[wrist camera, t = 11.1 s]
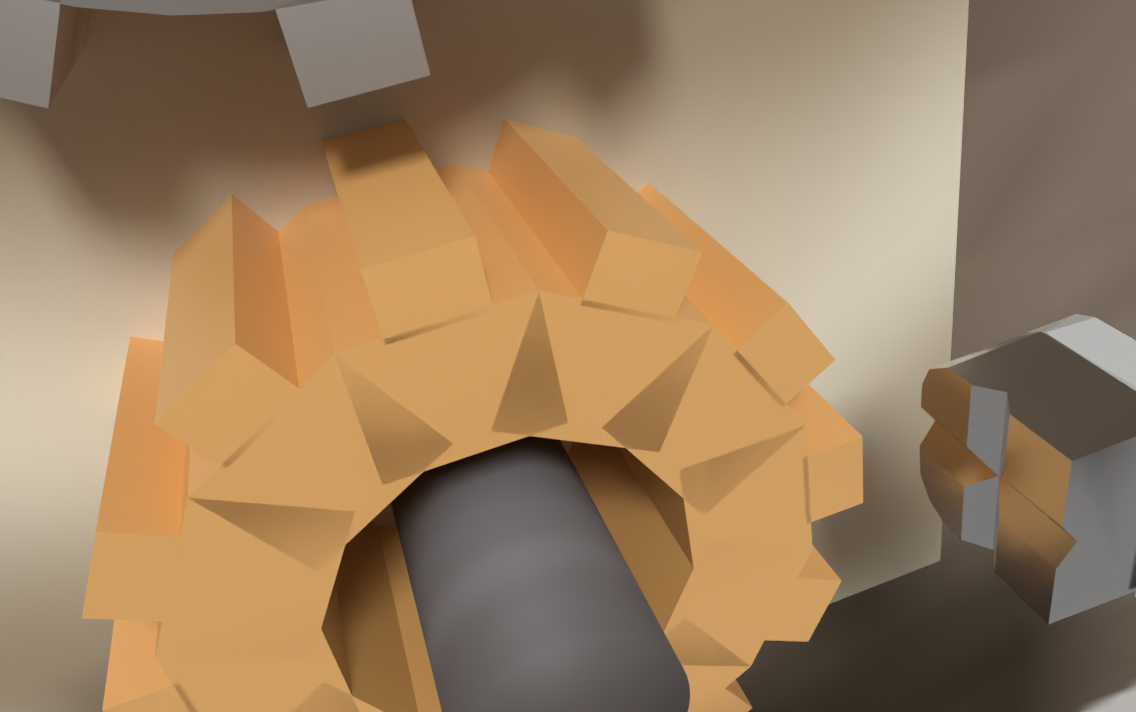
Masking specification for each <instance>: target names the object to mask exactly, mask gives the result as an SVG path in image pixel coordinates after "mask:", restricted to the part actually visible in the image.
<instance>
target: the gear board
mask: <svg viewBox="0 0 1136 712" xmlns="http://www.w3.org/2000/svg"><path fill="white" fill-rule="evenodd" d="M968 7H969V0H0V712H103V711H102V708H103V701H104V693H105V686H106V678H107V671H108V663H109V656H110V648H111V641H112V633H113V626H114V620H111V619H82V613H83V607H84V601H85V594H86V588H87V582H88V576H89V570H90V564H91V557H92V551H93V545H94V539H95V533H96V527H97V521H98V516H99V510H100V504H101V499H102V493H103V487H104V482H105V476H106V470H107V465H108V459H109V453H110V448H111V442H112V436H113V431H114V425H115V419H116V414H117V408H118V402H119V397H120V391H121V385H122V380H123V374H124V368H125V363H126V357H127V352H128V346H129V340H130V336H132V337H139V338H146V339H153V340H160V341H164V333H165V324H166V315H167V306H168V297H169V288H170V279H171V270H172V261H173V253H174V252H175V251H176V250H177V249H178V248H179V247H180V246H181V245H182V244H183V243H184V242H185V241H186V240H187V239H188V238H189V237H190V236H191V235H192V234H193V233H194V232H195V231H196V230H197V229H198V228H199V227H200V226H201V225H202V224H203V223H204V222H205V221H206V220H207V219H208V218H209V216H210V215H211V214H212V213H213V212H214V211H215V210H216V209H217V208H218V207H219V206H220V205H221V204H222V203H223V202H224V201H225V200H226V199H227V198H228V197H229V196H230V195H231V194H232V195H234V196H235V197H236V198H237V199H239V200H240V201H241V202H242V203H244V204H245V205H246V206H247V207H249V208H250V209H251V210H252V211H254V212H255V213H256V214H257V215H258V216H260V217H261V218H262V219H263V220H265V221H266V222H267V223H268V224H270V225H271V226H272V227H273V228H275V229H276V230H277V231H279V230H280V229H281V228H282V227H283V226H284V225H285V224H286V223H287V222H288V221H289V220H290V219H291V218H292V217H293V216H294V215H295V214H296V213H297V212H298V211H299V210H300V209H301V208H302V207H303V206H306V205H309V204H313V203H316V202H320V201H323V200H327V199H330V198H334V197H337V196H338V194H337V191H336V187H335V184H334V181H333V177H332V174H331V171H330V167H329V164H328V161H327V157H326V154H325V151H324V148H323V144H322V141H325V140H329V139H333V138H336V137H340V136H344V135H347V134H351V133H355V132H358V131H362V130H366V129H369V128H373V127H377V126H380V125H384V124H388V123H391V122H395V121H399V120H402V119H405V120H406V121H407V123H408V125H409V126H410V128H411V130H412V131H413V133H414V135H415V136H416V138H417V140H418V141H419V143H420V145H421V146H422V148H423V150H424V151H425V153H426V155H427V156H428V158H429V160H430V161H431V163H432V165H433V166H434V168H435V169H436V168H440V167H443V166H447V165H450V164H454V163H455V164H459V165H463V166H467V167H471V168H475V169H479V170H483V171H488V170H489V166H490V163H491V160H492V156H493V153H494V150H495V147H496V143H497V140H498V137H499V133H500V130H501V127H502V124H503V120H504V118H505V119H509V120H512V121H516V122H520V123H523V124H527V125H531V126H534V127H538V128H542V129H545V130H549V131H553V132H556V133H560V134H564V135H567V136H571V137H575V138H578V139H579V140H580V141H581V142H582V143H583V144H584V145H586V146H587V147H588V148H589V149H590V150H591V151H592V152H593V153H594V154H595V155H596V156H598V157H599V158H600V159H601V160H602V161H603V162H604V163H605V164H606V165H607V166H609V167H610V168H611V169H612V170H613V171H614V172H615V173H616V174H617V175H618V176H619V177H621V178H622V179H623V180H624V181H625V182H626V183H627V184H628V185H629V186H630V187H631V188H633V189H634V190H635V191H636V192H637V193H638V192H639V191H640V190H641V189H642V188H643V187H644V186H645V185H646V184H647V183H648V182H649V183H650V184H651V185H652V186H654V187H655V188H656V189H657V190H658V191H659V192H661V193H662V194H663V195H664V196H665V197H666V198H667V199H669V200H670V201H671V202H672V203H673V204H674V205H676V206H677V207H678V208H679V209H680V210H681V211H682V212H684V213H685V214H686V215H687V216H688V217H689V218H691V219H692V220H693V221H694V222H695V223H696V224H698V225H699V226H700V227H701V228H702V229H703V230H704V231H706V232H707V233H708V234H709V235H710V236H711V237H713V238H714V239H715V240H716V241H717V242H718V243H720V244H721V245H722V246H723V247H724V248H725V249H726V250H728V251H729V252H730V253H731V254H732V255H733V256H735V257H736V258H737V259H738V260H739V261H740V262H741V263H743V264H744V265H745V266H746V267H747V268H748V269H750V270H751V271H752V272H753V273H754V274H755V275H757V276H758V277H759V278H760V279H761V280H762V281H763V282H765V283H766V284H767V285H768V286H769V287H770V288H772V289H773V290H774V291H775V292H776V293H777V294H778V295H780V296H781V297H782V298H783V299H784V300H785V301H787V302H788V303H789V304H790V305H791V307H792V308H793V309H794V310H795V312H796V313H797V314H798V315H799V316H800V318H801V319H802V320H803V321H804V322H805V324H806V325H807V326H808V327H809V328H810V330H811V331H812V332H813V333H814V334H815V336H816V337H817V338H818V339H819V340H820V342H821V343H822V344H823V345H824V347H825V348H826V349H827V350H828V351H829V353H830V354H831V355H832V356H833V357H834V359H835V361H834V362H833V363H831V364H830V365H829V366H828V367H827V368H826V369H825V370H824V371H822V372H821V373H820V374H819V375H818V376H817V377H816V378H815V379H813V380H812V381H811V382H810V383H809V385H810V386H811V387H812V388H813V389H814V390H815V391H816V392H817V393H818V394H819V395H820V396H821V397H822V398H823V399H824V400H825V401H827V402H828V403H829V404H830V405H831V406H832V407H833V408H834V409H835V410H836V411H837V412H838V413H839V414H840V415H841V416H842V417H843V418H844V419H845V420H846V421H847V422H848V423H849V424H850V425H851V426H852V427H853V428H854V429H855V430H856V431H857V432H858V433H859V434H860V435H861V436H862V437H863V503H861V504H859V505H856V506H853V507H851V508H848V509H845V510H843V511H840V512H837V513H835V514H832V515H829V516H827V517H824V518H821V519H819V520H816V521H813V522H811V532H812V545H813V546H814V547H815V549H816V550H817V551H818V552H819V553H820V555H821V556H822V557H823V558H824V560H825V561H826V562H827V563H828V565H829V566H830V567H831V568H832V570H833V571H834V572H835V573H836V575H837V576H838V577H839V578H840V579H841V583H840V585H839V586H838V588H837V590H836V592H835V594H834V596H833V597H832V599H831V601H830V603H829V604H831V603H833V602H836V601H838V600H841V599H843V598H846V597H848V596H851V595H854V594H856V593H859V592H861V591H864V590H866V589H869V588H871V587H874V586H877V585H879V584H882V583H884V582H887V581H889V580H892V579H894V578H897V577H900V576H902V575H905V574H907V573H910V572H912V571H915V570H917V569H920V568H923V567H925V566H928V565H930V564H933V563H935V562H938V561H940V556H941V536H942V519H941V517H940V516H939V514H938V513H937V511H936V510H935V508H934V507H933V505H932V504H931V502H930V500H929V497H928V495H927V492H926V489H925V486H924V484H923V481H922V478H921V475H920V444H921V443H922V441H923V439H924V438H925V436H926V434H927V433H928V431H929V430H930V428H931V426H932V425H933V423H934V421H935V420H934V419H933V418H932V417H931V416H930V415H929V414H927V413H926V412H925V411H924V410H923V409H922V408H921V394H922V383H923V381H924V379H925V377H926V375H927V373H928V371H929V369H931V368H933V367H936V366H939V365H942V364H944V363H947V362H950V360H951V340H952V321H953V301H954V281H955V262H956V242H957V223H958V203H959V183H960V164H961V144H962V124H963V105H964V85H965V66H966V46H967V26H968ZM572 443H573V441H566V440H558V439H550V438H542V437H534V436H528V437H525V438H522V439H519V440H516V441H513V442H510V443H507V444H504V445H501V446H498V447H495V448H492V449H489V450H486V451H483V452H480V453H477V454H474V455H471V456H468V457H465V458H463V459H460V460H457V461H454V462H451V463H448V464H445V465H442V466H439V467H436V468H433V469H430V470H427V471H424V472H423V473H422V474H420V475H419V476H418V477H417V478H416V479H415V480H414V481H413V482H412V483H411V484H410V485H409V486H408V487H407V488H406V489H404V490H403V491H402V492H401V493H400V494H399V495H398V496H397V497H396V498H395V499H394V500H393V501H392V502H391V503H390V504H388V505H387V506H386V507H385V508H384V509H383V510H382V511H381V512H380V513H379V514H378V515H377V516H376V517H375V518H374V519H372V520H371V522H373V523H374V524H376V525H378V526H389V527H397V530H398V534H399V538H400V542H401V546H402V550H403V554H404V558H405V563H406V567H407V571H408V575H409V579H410V583H411V587H412V591H413V595H414V599H415V603H416V608H417V612H418V616H419V620H420V624H421V628H422V632H423V636H424V640H425V644H426V648H427V653H428V657H429V661H430V665H431V669H432V673H433V677H434V681H435V685H436V689H437V693H438V698H439V702H440V706H441V710H442V712H688V708H689V702H690V685H689V681H688V678H687V675H686V673H685V671H684V669H683V667H682V665H681V663H680V661H679V659H678V657H677V656H676V654H675V652H674V650H673V648H672V646H671V644H670V643H669V641H668V639H667V637H666V635H665V633H664V631H663V630H662V628H661V626H660V624H659V622H658V620H657V618H656V617H655V615H654V613H653V611H652V609H651V607H650V605H649V604H648V602H647V600H646V598H645V596H644V594H643V592H642V591H641V589H640V587H639V585H638V583H637V581H636V580H635V578H634V576H633V574H632V572H631V570H630V568H629V567H628V565H627V563H626V561H625V559H624V557H623V555H622V554H621V552H620V550H619V548H618V546H617V544H616V542H615V541H614V539H613V537H612V535H611V533H610V531H609V529H608V528H607V526H606V524H605V522H604V520H603V518H602V516H601V515H600V513H599V511H598V509H597V507H596V505H595V503H594V502H593V500H592V498H591V496H590V494H589V492H588V491H587V489H586V487H585V485H584V483H583V481H582V479H581V478H580V476H579V474H578V472H577V470H576V468H575V466H574V465H573V463H572V461H571V459H570V457H569V455H568V453H569V451H570V448H571V446H572Z"/></svg>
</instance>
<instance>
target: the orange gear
mask: <svg viewBox="0 0 1136 712" xmlns="http://www.w3.org/2000/svg"><path fill="white" fill-rule="evenodd" d="M322 144H323V148H324V151H325V154H326V157H327V161H328V164H329V167H330V171H331V174H332V177H333V181H334V184H335V187H336V191H337V194H338V196H337V197H334V198H330V199H327V200H323V201H320V202H316V203H313V204H309V205H306V206H303V207H302V208H301V209H300V210H299V211H298V212H297V213H296V214H295V215H294V216H293V217H292V218H291V219H290V220H289V221H288V222H287V223H286V224H285V225H284V226H283V227H282V228H281V229H280V230H279V231H277V230H276V229H275V228H273V227H272V226H271V225H270V224H268V223H267V222H266V221H265V220H263V219H262V218H261V217H260V216H258V215H257V214H256V213H255V212H254V211H252V210H251V209H250V208H249V207H247V206H246V205H245V204H244V203H242V202H241V201H240V200H239V199H237V198H236V197H235V196H234V195H232V194H231V195H230V196H229V197H228V198H227V199H226V200H225V201H224V202H223V203H222V204H221V205H220V206H219V207H218V208H217V209H216V210H215V211H214V212H213V213H212V214H211V215H210V216H209V218H208V219H207V220H206V221H205V222H204V223H203V224H202V225H201V226H200V227H199V228H198V229H197V230H196V231H195V232H194V233H193V234H192V235H191V236H190V237H189V238H188V239H187V240H186V241H185V242H184V243H183V244H182V245H181V246H180V247H179V248H178V249H177V250H176V251H175V252H174V253H173V261H172V270H171V279H170V288H169V297H168V306H167V315H166V324H165V333H164V341H160V340H153V339H146V338H139V337H132V336H130V340H129V346H128V352H127V357H126V363H125V368H124V374H123V380H122V385H121V391H120V397H119V402H118V408H117V414H116V419H115V425H114V431H113V436H112V442H111V448H110V453H109V459H108V465H107V470H106V476H105V482H104V487H103V493H102V499H101V504H100V510H99V516H98V521H97V527H96V533H95V539H94V545H93V551H92V557H91V564H90V570H89V576H88V582H87V588H86V594H85V601H84V607H83V613H82V619H111V620H114V626H113V633H112V641H111V648H110V656H109V663H108V671H107V678H106V686H105V693H104V701H103V708H102V711H103V712H442V710H441V706H440V702H439V698H438V693H437V689H436V685H435V681H434V677H433V673H432V669H431V665H430V661H429V657H428V653H427V648H426V644H425V640H424V636H423V632H422V628H421V624H420V620H419V616H418V612H417V608H416V603H415V599H414V595H413V591H412V587H411V583H410V579H409V575H408V571H407V567H406V563H405V558H404V554H403V550H402V546H401V542H400V538H399V534H398V530H397V527H389V526H378V525H376V524H374V523H373V522H371V520H372V519H374V518H375V517H376V516H377V515H378V514H379V513H380V512H381V511H382V510H383V509H384V508H385V507H386V506H387V505H388V504H390V503H391V502H392V501H393V500H394V499H395V498H396V497H397V496H398V495H399V494H400V493H401V492H402V491H403V490H404V489H406V488H407V487H408V486H409V485H410V484H411V483H412V482H413V481H414V480H415V479H416V478H417V477H418V476H419V475H420V474H422V473H423V472H424V471H427V470H430V469H433V468H436V467H439V466H442V465H445V464H448V463H451V462H454V461H457V460H460V459H463V458H465V457H468V456H471V455H474V454H477V453H480V452H483V451H486V450H489V449H492V448H495V447H498V446H501V445H504V444H507V443H510V442H513V441H516V440H519V439H522V438H525V437H528V436H534V437H542V438H550V439H558V440H566V441H573V443H572V446H571V448H570V451H569V453H568V455H569V457H570V459H571V461H572V463H573V465H574V466H575V468H576V470H577V472H578V474H579V476H580V478H581V479H582V481H583V483H584V485H585V487H586V489H587V491H588V492H589V494H590V496H591V498H592V500H593V502H594V503H595V505H596V507H597V509H598V511H599V513H600V515H601V516H602V518H603V520H604V522H605V524H606V526H607V528H608V529H609V531H610V533H611V535H612V537H613V539H614V541H615V542H616V544H617V546H618V548H619V550H620V552H621V554H622V555H623V557H624V559H625V561H626V563H627V565H628V567H629V568H630V570H631V572H632V574H633V576H634V578H635V580H636V581H637V583H638V585H639V587H640V589H641V591H642V592H643V594H644V596H645V598H646V600H647V602H648V604H649V605H650V607H651V609H652V611H653V613H654V615H655V617H656V618H657V620H658V622H659V624H660V626H661V628H662V630H663V631H664V633H665V635H666V637H667V639H668V641H669V643H670V644H671V646H672V648H673V650H674V652H675V654H676V656H677V657H678V659H679V661H680V663H681V665H682V667H683V669H684V671H685V673H686V675H687V678H688V681H689V685H690V702H689V708H688V712H748V711H749V710H751V709H752V708H753V707H752V706H751V704H750V702H749V701H748V699H747V697H746V696H745V694H744V692H743V691H742V689H741V687H740V686H739V684H738V682H737V681H736V678H738V677H739V676H740V675H741V674H742V673H743V672H745V671H746V670H747V669H748V668H749V667H751V665H752V663H753V661H754V659H755V657H756V655H757V653H758V652H759V650H760V648H761V646H762V644H763V642H764V640H771V641H802V642H808V641H809V639H810V637H811V636H812V634H813V632H814V630H815V628H816V626H817V625H818V623H819V621H820V619H821V617H822V616H823V614H824V612H825V610H826V608H827V606H828V605H829V603H830V601H831V599H832V597H833V596H834V594H835V592H836V590H837V588H838V586H839V585H840V583H841V579H840V578H839V577H838V576H837V575H836V573H835V572H834V571H833V570H832V568H831V567H830V566H829V565H828V563H827V562H826V561H825V560H824V558H823V557H822V556H821V555H820V553H819V552H818V551H817V550H816V549H815V547H814V546H813V545H812V532H811V522H813V521H816V520H819V519H821V518H824V517H827V516H829V515H832V514H835V513H837V512H840V511H843V510H845V509H848V508H851V507H853V506H856V505H859V504H861V503H863V437H862V436H861V435H860V434H859V433H858V432H857V431H856V430H855V429H854V428H853V427H852V426H851V425H850V424H849V423H848V422H847V421H846V420H845V419H844V418H843V417H842V416H841V415H840V414H839V413H838V412H837V411H836V410H835V409H834V408H833V407H832V406H831V405H830V404H829V403H828V402H827V401H825V400H824V399H823V398H822V397H821V396H820V395H819V394H818V393H817V392H816V391H815V390H814V389H813V388H812V387H811V386H810V385H809V383H810V382H811V381H812V380H813V379H815V378H816V377H817V376H818V375H819V374H820V373H821V372H822V371H824V370H825V369H826V368H827V367H828V366H829V365H830V364H831V363H833V362H834V361H835V359H834V357H833V356H832V355H831V354H830V353H829V351H828V350H827V349H826V348H825V347H824V345H823V344H822V343H821V342H820V340H819V339H818V338H817V337H816V336H815V334H814V333H813V332H812V331H811V330H810V328H809V327H808V326H807V325H806V324H805V322H804V321H803V320H802V319H801V318H800V316H799V315H798V314H797V313H796V312H795V310H794V309H793V308H792V307H791V305H790V304H789V303H788V302H787V301H785V300H784V299H783V298H782V297H781V296H780V295H778V294H777V293H776V292H775V291H774V290H773V289H772V288H770V287H769V286H768V285H767V284H766V283H765V282H763V281H762V280H761V279H760V278H759V277H758V276H757V275H755V274H754V273H753V272H752V271H751V270H750V269H748V268H747V267H746V266H745V265H744V264H743V263H741V262H740V261H739V260H738V259H737V258H736V257H735V256H733V255H732V254H731V253H730V252H729V251H728V250H726V249H725V248H724V247H723V246H722V245H721V244H720V243H718V242H717V241H716V240H715V239H714V238H713V237H711V236H710V235H709V234H708V233H707V232H706V231H704V230H703V229H702V228H701V227H700V226H699V225H698V224H696V223H695V222H694V221H693V220H692V219H691V218H689V217H688V216H687V215H686V214H685V213H684V212H682V211H681V210H680V209H679V208H678V207H677V206H676V205H674V204H673V203H672V202H671V201H670V200H669V199H667V198H666V197H665V196H664V195H663V194H662V193H661V192H659V191H658V190H657V189H656V188H655V187H654V186H652V185H651V184H650V183H649V182H648V183H647V184H646V185H645V186H644V187H643V188H642V189H641V190H640V191H639V192H638V193H637V192H636V191H635V190H634V189H633V188H631V187H630V186H629V185H628V184H627V183H626V182H625V181H624V180H623V179H622V178H621V177H619V176H618V175H617V174H616V173H615V172H614V171H613V170H612V169H611V168H610V167H609V166H607V165H606V164H605V163H604V162H603V161H602V160H601V159H600V158H599V157H598V156H596V155H595V154H594V153H593V152H592V151H591V150H590V149H589V148H588V147H587V146H586V145H584V144H583V143H582V142H581V141H580V140H579V139H578V138H575V137H571V136H567V135H564V134H560V133H556V132H553V131H549V130H545V129H542V128H538V127H534V126H531V125H527V124H523V123H520V122H516V121H512V120H509V119H505V118H504V120H503V124H502V127H501V130H500V133H499V137H498V140H497V143H496V147H495V150H494V153H493V156H492V160H491V163H490V166H489V170H488V171H483V170H479V169H475V168H471V167H467V166H463V165H459V164H455V163H454V164H450V165H447V166H443V167H440V168H436V169H435V168H434V166H433V165H432V163H431V161H430V160H429V158H428V156H427V155H426V153H425V151H424V150H423V148H422V146H421V145H420V143H419V141H418V140H417V138H416V136H415V135H414V133H413V131H412V130H411V128H410V126H409V125H408V123H407V121H406V120H405V119H402V120H399V121H395V122H391V123H388V124H384V125H380V126H377V127H373V128H369V129H366V130H362V131H358V132H355V133H351V134H347V135H344V136H340V137H336V138H333V139H329V140H325V141H322Z"/></svg>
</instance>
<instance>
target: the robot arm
mask: <svg viewBox="0 0 1136 712" xmlns="http://www.w3.org/2000/svg"><path fill="white" fill-rule="evenodd" d="M921 408H922V409H923V410H924V411H925V412H926V413H927V414H929V415H930V416H931V417H932V418H933V419H934V420H935V421H934V423H933V425H932V426H931V428H930V430H929V431H928V433H927V434H926V436H925V438H924V439H923V441H922V443H921V444H920V475H921V478H922V481H923V484H924V486H925V489H926V492H927V495H928V497H929V500H930V502H931V504H932V505H933V507H934V508H935V510H936V511H937V513H938V514H939V516H940V517H941V519H942V520H943V522H944V523H945V524H946V525H947V526H948V527H949V528H950V529H951V530H952V531H953V532H954V533H955V534H956V535H957V536H958V537H959V538H960V539H961V540H964V541H967V542H970V543H973V544H976V545H980V546H983V547H986V548H989V549H992V550H993V559H994V570H995V573H996V574H997V575H998V576H999V577H1000V578H1001V579H1002V580H1003V581H1004V582H1005V583H1006V584H1007V585H1008V586H1009V587H1010V588H1011V589H1012V590H1013V591H1014V592H1015V593H1017V594H1018V595H1019V596H1020V597H1021V598H1022V599H1023V600H1024V601H1025V602H1026V603H1027V604H1028V605H1029V606H1030V607H1031V608H1032V609H1033V610H1034V611H1035V612H1036V613H1037V614H1038V615H1039V616H1040V617H1041V618H1042V619H1043V620H1044V621H1045V622H1046V623H1048V624H1051V623H1054V622H1056V621H1059V620H1061V619H1064V618H1067V617H1069V616H1072V615H1074V614H1077V613H1080V612H1082V611H1085V610H1087V609H1090V608H1093V607H1095V606H1098V605H1100V604H1103V603H1106V602H1108V601H1111V600H1113V599H1116V598H1119V597H1121V596H1124V595H1126V594H1129V593H1132V592H1134V591H1136V341H1135V340H1134V339H1132V338H1130V337H1128V336H1127V335H1125V334H1123V333H1121V332H1120V331H1118V330H1116V329H1114V328H1113V327H1111V326H1109V325H1107V324H1106V323H1104V322H1102V321H1100V320H1099V319H1097V318H1095V317H1091V316H1084V315H1078V314H1074V315H1072V316H1069V317H1066V318H1064V319H1061V320H1058V321H1056V322H1053V323H1050V324H1048V325H1045V326H1043V327H1040V328H1037V329H1035V330H1032V331H1029V332H1027V333H1026V334H1025V335H1023V336H1019V337H1016V338H1013V339H1010V340H1007V341H1005V342H1002V343H999V344H997V345H994V346H991V347H988V348H986V349H983V350H980V351H977V352H975V353H972V354H969V355H966V356H964V357H961V358H958V359H955V360H953V361H950V362H947V363H944V364H942V365H939V366H936V367H933V368H931V369H929V371H928V373H927V375H926V377H925V379H924V381H923V383H922V394H921ZM1135 597H1136V593H1135Z"/></svg>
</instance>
